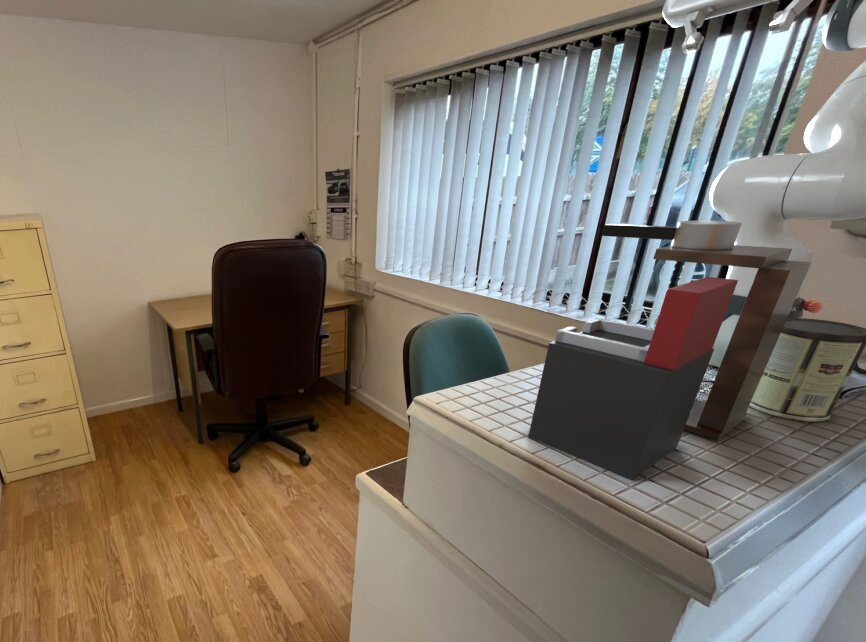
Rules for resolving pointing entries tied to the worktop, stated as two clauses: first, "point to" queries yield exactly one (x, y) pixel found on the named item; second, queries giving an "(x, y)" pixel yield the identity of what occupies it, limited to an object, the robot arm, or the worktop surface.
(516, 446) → the worktop surface
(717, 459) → the worktop surface
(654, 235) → the filter holder
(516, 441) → the worktop surface
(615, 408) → the coffee maker
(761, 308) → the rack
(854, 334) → the coffee can
